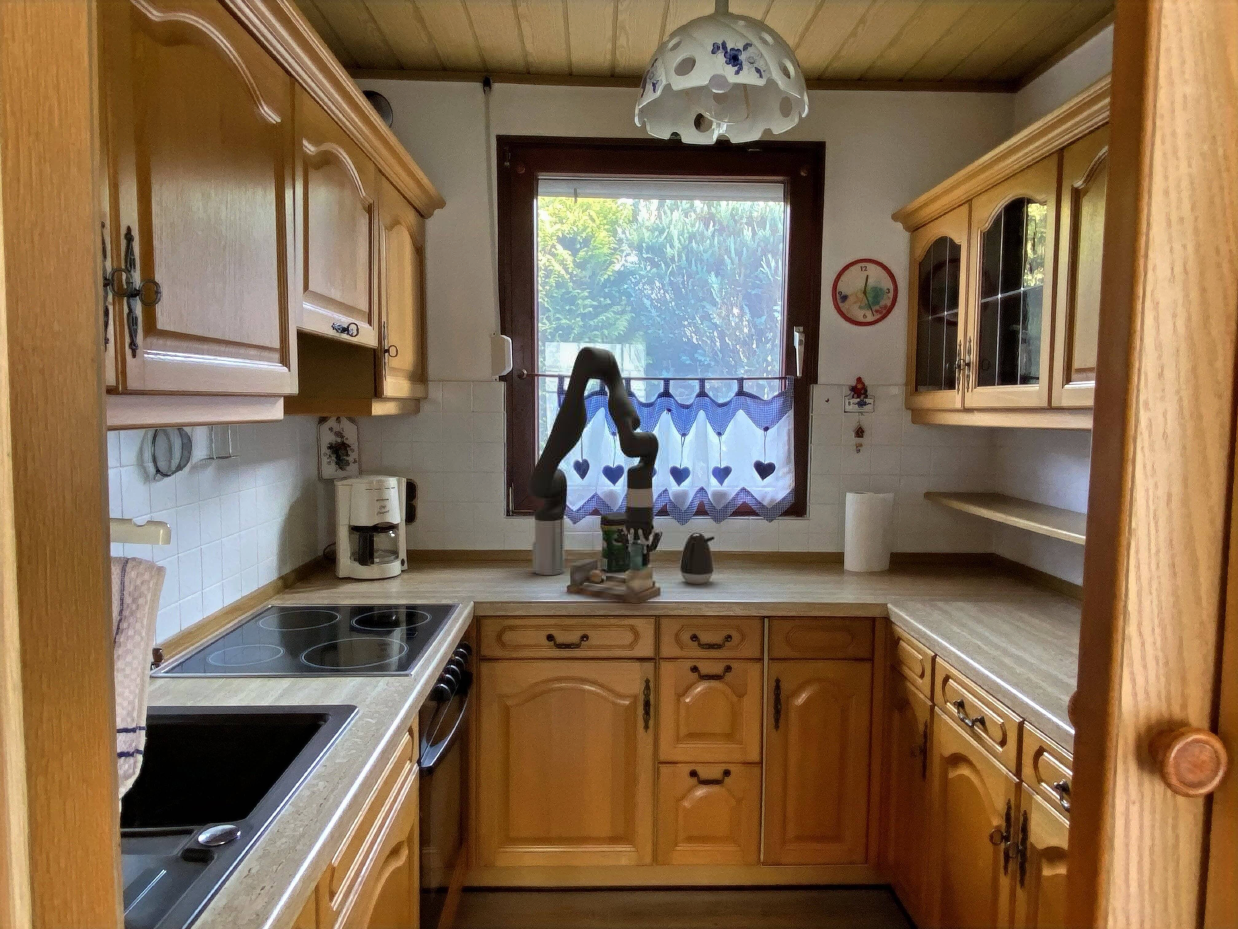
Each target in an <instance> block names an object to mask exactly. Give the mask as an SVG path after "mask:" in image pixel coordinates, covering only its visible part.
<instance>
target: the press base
mask: <svg viewBox="0 0 1238 929" xmlns="http://www.w3.org/2000/svg"><path fill="white" fill-rule="evenodd" d="M598 562H599V561H598V558H591V557H588V558H585V559H583V560H580V561H579V560H578V561H577V562H574V563H571V564H569V578H570V579H569V580H570V581H569V582H570V583H569V584H568V585H566V593H568V594H575V595H582V596H588V597H592V598H594V597H595V598H599V597H601V599H605V598H607V599H606V600H613V601H619V602H626V603H632V604H638V605H640V604H643V603H645V602H648V600H651V599H653V598H655V597H657V596H660V595H661V593H662V592H661V588H662V587H661V586H656V580H653V586H652V587H650V588H648V589H646V590H643V591H641V592H639V593H637V594H635V590H632V589H626V575H625V576H624V575H623V576H622V575H616V574H609V573H608V574H605V578H604V577H602V580H601V581H600V582H599V583H597V584H595V582H593V581H589V579H588V575H589V573H590V572H591V571H593V570H598V571H599V565H598V564H599V563H598Z"/></svg>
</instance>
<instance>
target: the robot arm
mask: <svg viewBox="0 0 1238 929" xmlns="http://www.w3.org/2000/svg"><path fill="white" fill-rule="evenodd" d="M590 380H599V381H602V382H603V383H604V385H605V386H606V388H607V391H608V397H607V398H608V399H607V409H608V413H609V417H610V418H611V420H612V423H614V425H615V428H616V430H617V434H618V435H617V436H618V441H619V442H618V443H619V446H620V447H619V448H620V451H621V453H622V454H623V455H624V456H625V457H626V458H630V459H639V460H638V463H637V464H636V465H635V464H634V465H632V466H630V467H629V468H627V470H626V494H625V513H626V520H627V523H626V525H625V527H623V528H619V529H617V532H618V535H619V538H620V540H621V543H622V546H623V548H624V549H627V550H629V561H630V545H631V544H634V543H637V542H640V543H641V545H642V550H643V554H642V566H643V567H646V566H648V565H650V563H651V562H650V560H651V559H650V557H651V555H650V554H651V553H652V552H654V551H657V549H658V545H659V544H660V541H661V539H662V536H663V531H661V530H660V531H658V529H655V527H654V524H653V521H654V492H653V473H654V469H655V467H656V466H655V465H656V460H657V458H658V453H659V450H660V448H659V447H660V443H659V440H658V437H657V436H656V433H653V432H652V431H637V430H638V429H639V428H640V426H641V422H642V421H641V418H640V416H639V414H638V412H637V410H636V409H635V407H634V405H633V403H632V401H631V398H630V397H629V395H628V393H627V389H626V385H625V382H624V380H623V377H622V373H621V370H620V367H619V364H618V361H617V359H616V357H615V355H614V354H613V352H612V351H610V350H609V349H605V348H600V347H596V346H583V347H581V348H580V349H579V351H578V352H577V354H576V356H575V361H574V362H573V367H572V370H571V374H570V378H569V381H568V384H567V388H566V391H565V393H564V397H563V399H562V403H561V405H560V408H559V410H558V412H557V414H556V417H555V419H554V422H553V424H552V428H551V431H550V433H549V436H548V438H547V440H546V443H545V445H544V448H543V450H542V453H540V454H541V455H540V457H539V459H538V461H537V462H536V464H535V466H534V468H533V470H532V473H531V474H530V477H529V481H528V489H529V492H530V495H531V496H533V498H535V499H543V500H544V501H543V502H542V504H541V505H540V506H539V507H538V508H537V509H536V510H534V542H533V543H532V572H533V573H536V574H537V575H543V576H555V575H561V574H564V573H565V522H564V521H565V513H566V511H567V502H568V500H567V499H568V481H567V476H566V474H565V472H564V471H563V470H562V469H560V468H558V467H559V466H560V464H561V462H562V461H563V460H564V459H565V458H566V456H567V455H569V454H570V452H571V451H572V450H573V449H574V448H575V446H576V445H577V444H578V443H579V441H580V440H581V437H582V436H583V433H584V430H585V428H586V425H587V421H588V414H587V407H586V401H585V393H586V389H587V386H588V384H589V382H590ZM627 532H628V536H627ZM651 535H652V537H651ZM651 538H652V540H651Z"/></svg>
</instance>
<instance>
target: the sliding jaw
mask: <svg viewBox="0 0 1238 929" xmlns="http://www.w3.org/2000/svg"><path fill="white" fill-rule="evenodd" d="M642 554H643V550H642V545H641V543H640V541H638V542H637V543H634V544H631V545H630V569H629V570H625V577H626V589H632V590H635V594H637V593H639V592H641V591H643V590H646V589H648V588H650V587H652V586H653V581H654V579H653V578H654V577H653V574H654V573H653V571H654V570H653V566H654V565H651V564H648V566H646V567H643V566H642Z"/></svg>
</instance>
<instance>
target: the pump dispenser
mask: <svg viewBox="0 0 1238 929" xmlns="http://www.w3.org/2000/svg"><path fill="white" fill-rule="evenodd" d="M714 540H715V536H714V535H713V536H712V535H711V536H708V537H705V535H704V534H702V533H701V532H693V533H691V534H690V535H689V536H688V538H687V539H686V541H685V544H684V546H683V549H682V552H681V556H680V562H679V572H680V574H681V577H682V579H683V580H684V581H685V583H686V582H687V583H688V584H690V585H691V584H692V585H704V584H706V583H708V582H709V581H710V580H711V579H712V576H713V573H714V571H715V568H714V565H715V564H714V558H713V554H712V550H711V547H710V544H709V542H712V541H714Z"/></svg>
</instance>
